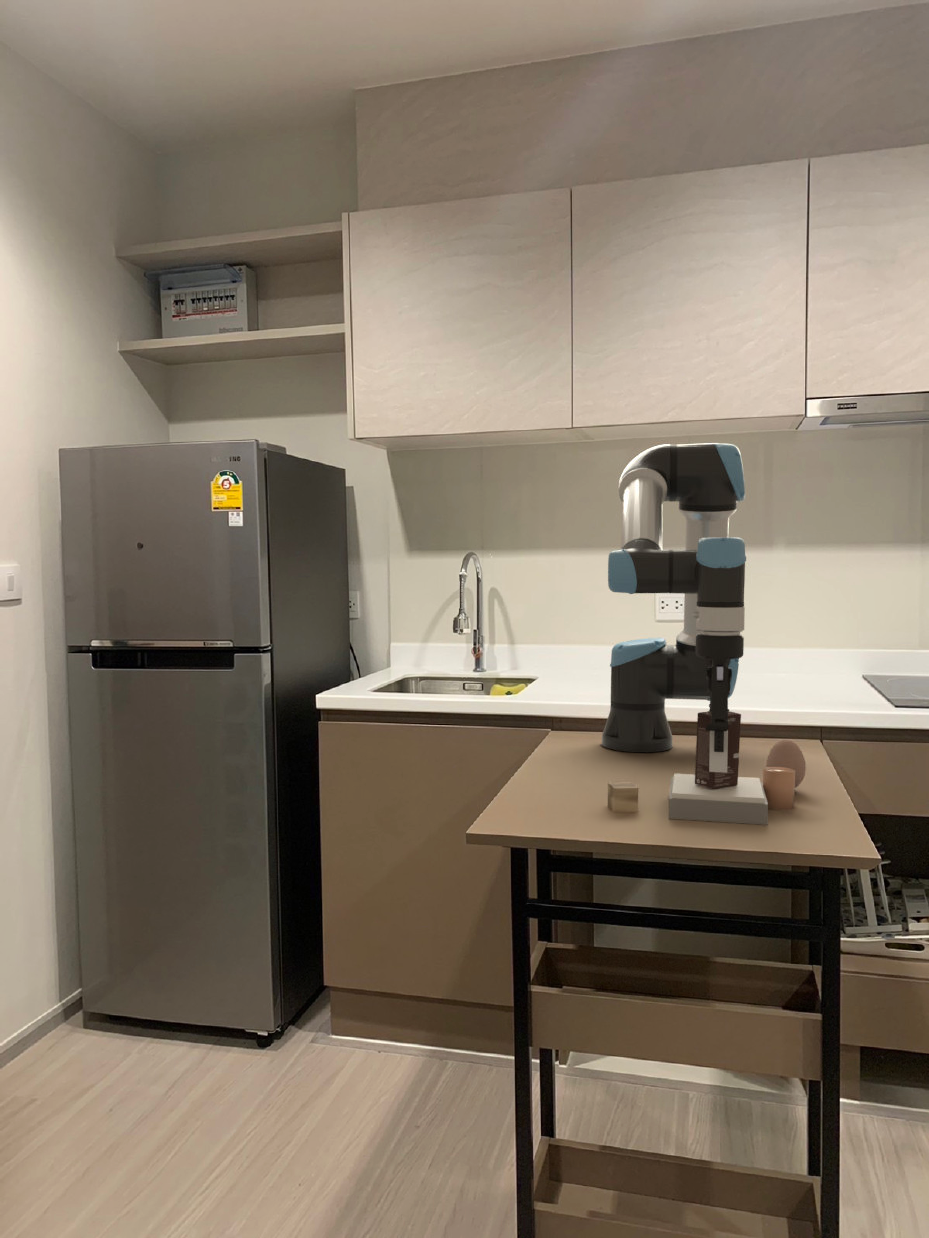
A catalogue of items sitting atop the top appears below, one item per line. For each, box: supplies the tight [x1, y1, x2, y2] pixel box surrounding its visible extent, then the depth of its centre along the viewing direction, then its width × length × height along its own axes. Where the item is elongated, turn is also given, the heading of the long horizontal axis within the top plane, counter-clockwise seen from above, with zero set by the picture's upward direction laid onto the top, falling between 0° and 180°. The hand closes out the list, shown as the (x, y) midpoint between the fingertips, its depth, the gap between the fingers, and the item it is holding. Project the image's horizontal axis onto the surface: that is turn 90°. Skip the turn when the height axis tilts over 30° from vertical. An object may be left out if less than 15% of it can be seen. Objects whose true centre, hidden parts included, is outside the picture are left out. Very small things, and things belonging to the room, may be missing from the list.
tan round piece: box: [762, 766, 796, 811], centre depth 160 cm, size 5×5×6 cm
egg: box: [765, 738, 807, 789], centre depth 170 cm, size 7×7×9 cm
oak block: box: [607, 781, 639, 813], centre depth 158 cm, size 4×4×4 cm
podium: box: [667, 773, 769, 826], centre depth 158 cm, size 15×15×4 cm
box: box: [694, 710, 742, 789], centre depth 157 cm, size 6×4×12 cm
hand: (717, 762), depth 157 cm, fingers open, 13 cm apart
